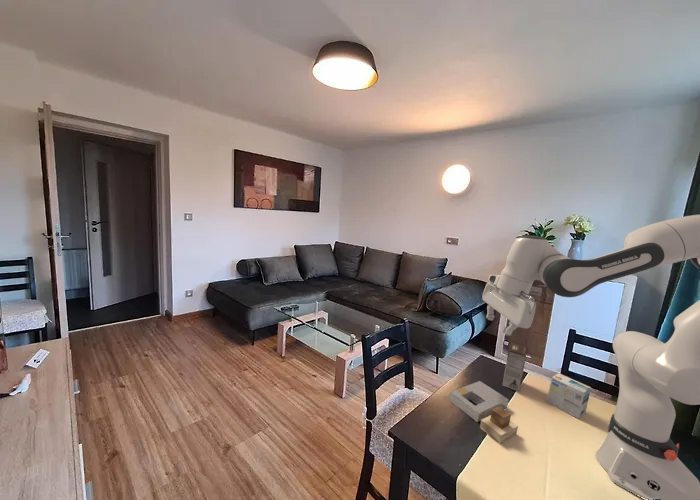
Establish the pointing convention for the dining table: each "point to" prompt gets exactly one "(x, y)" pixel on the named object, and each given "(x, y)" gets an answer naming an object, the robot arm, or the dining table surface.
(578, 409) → the light bulb box
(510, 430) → the beige rectangular block
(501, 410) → the walnut block
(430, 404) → the dining table surface
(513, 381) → the coffee box
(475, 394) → the plate
